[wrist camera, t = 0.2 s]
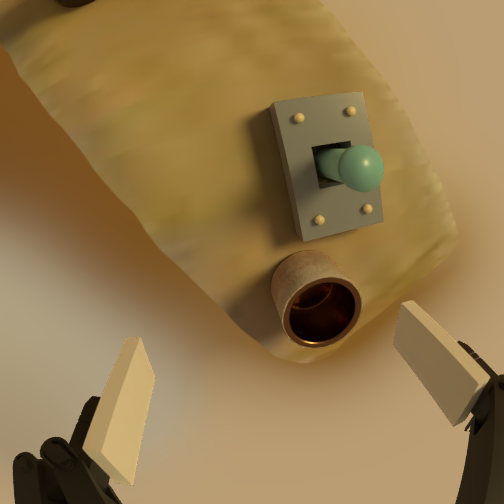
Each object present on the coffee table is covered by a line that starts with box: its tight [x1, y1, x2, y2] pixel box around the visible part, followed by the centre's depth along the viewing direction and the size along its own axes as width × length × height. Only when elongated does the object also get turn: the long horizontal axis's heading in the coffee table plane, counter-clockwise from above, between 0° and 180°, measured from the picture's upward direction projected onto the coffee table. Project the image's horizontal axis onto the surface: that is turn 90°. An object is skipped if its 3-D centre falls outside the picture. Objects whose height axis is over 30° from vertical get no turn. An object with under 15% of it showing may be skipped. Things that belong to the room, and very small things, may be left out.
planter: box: [271, 250, 362, 348], centre depth 39 cm, size 11×11×10 cm
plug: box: [313, 145, 384, 192], centre depth 32 cm, size 5×5×12 cm
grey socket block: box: [269, 92, 383, 242], centre depth 35 cm, size 18×12×5 cm, turn 13°
